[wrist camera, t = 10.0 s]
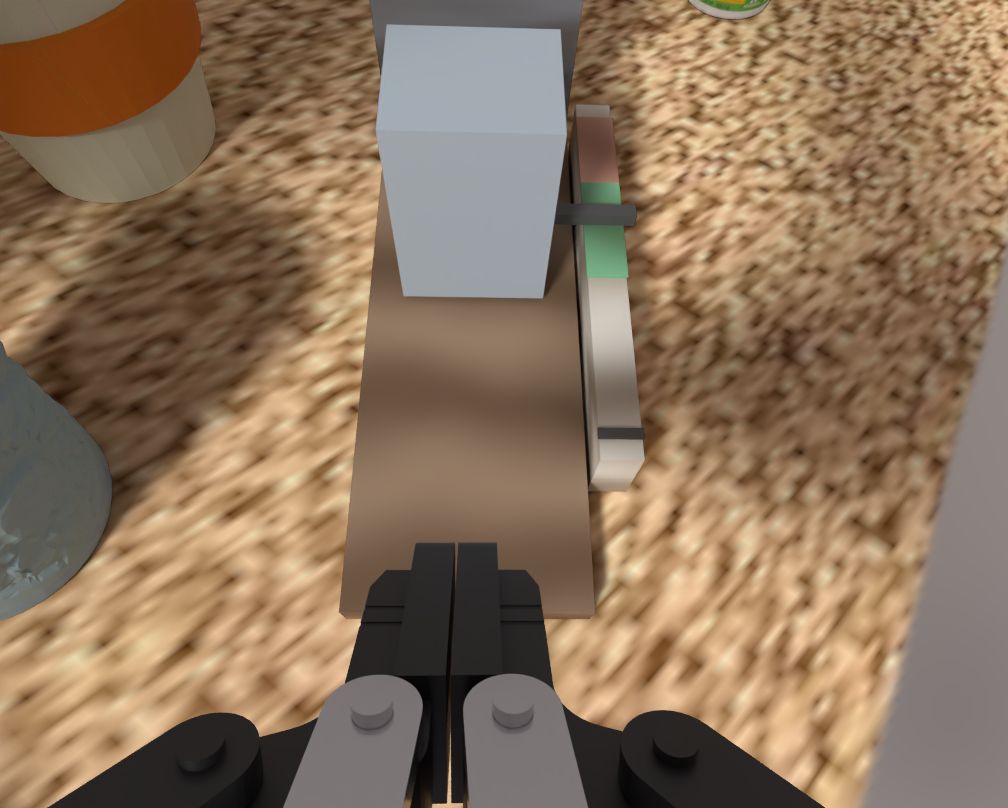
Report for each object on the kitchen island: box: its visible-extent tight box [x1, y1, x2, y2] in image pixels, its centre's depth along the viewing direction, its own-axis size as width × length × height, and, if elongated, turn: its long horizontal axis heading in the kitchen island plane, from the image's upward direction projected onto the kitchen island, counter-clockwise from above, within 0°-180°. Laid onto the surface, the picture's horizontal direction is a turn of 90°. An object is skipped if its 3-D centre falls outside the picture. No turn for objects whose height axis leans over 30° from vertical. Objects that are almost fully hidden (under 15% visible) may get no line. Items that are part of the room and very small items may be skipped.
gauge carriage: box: [376, 24, 637, 298], centre depth 28 cm, size 8×10×9 cm
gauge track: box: [339, 0, 645, 619], centre depth 27 cm, size 28×11×12 cm, turn 0°
